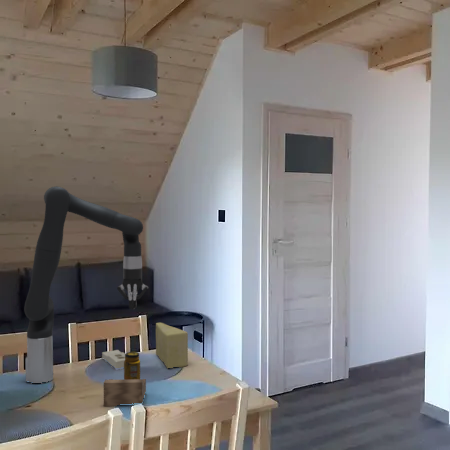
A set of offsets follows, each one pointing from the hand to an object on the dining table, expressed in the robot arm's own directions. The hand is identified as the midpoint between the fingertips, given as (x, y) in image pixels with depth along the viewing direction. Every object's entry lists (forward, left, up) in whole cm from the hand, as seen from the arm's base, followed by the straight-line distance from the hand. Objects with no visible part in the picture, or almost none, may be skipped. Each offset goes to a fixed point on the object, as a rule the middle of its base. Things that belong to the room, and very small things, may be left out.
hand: (132, 309), depth 209 cm
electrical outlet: (-8, +9, -26) cm, 28 cm away
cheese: (+13, +11, -25) cm, 30 cm away
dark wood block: (+2, -33, -25) cm, 41 cm away
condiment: (+2, -19, -25) cm, 32 cm away
